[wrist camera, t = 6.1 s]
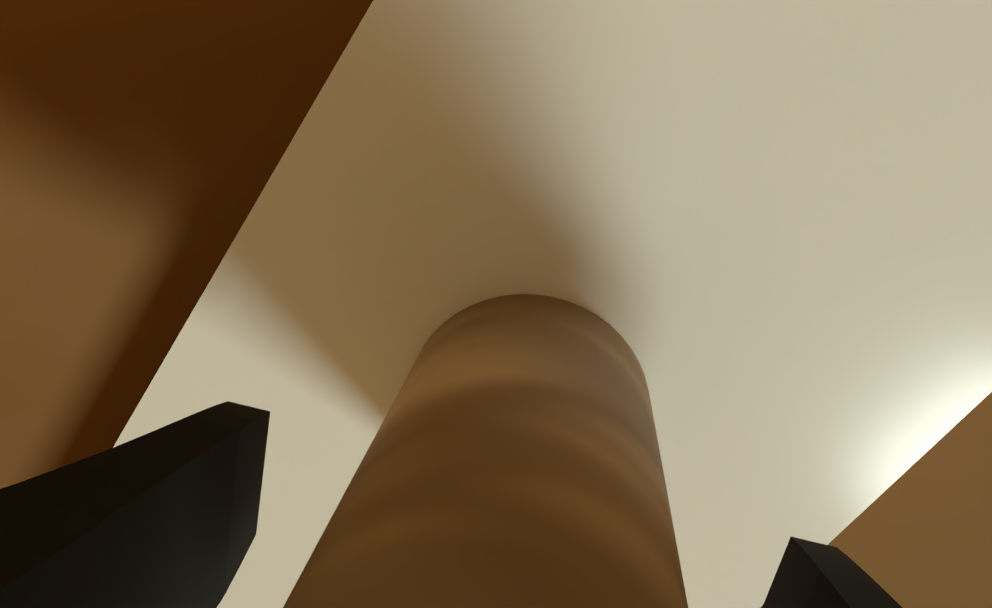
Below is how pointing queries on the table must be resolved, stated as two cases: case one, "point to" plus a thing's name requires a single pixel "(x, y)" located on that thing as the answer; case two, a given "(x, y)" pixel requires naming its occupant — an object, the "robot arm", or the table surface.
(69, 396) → the table surface
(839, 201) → the ceramic tile
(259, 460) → the robot arm
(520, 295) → the oak cylinder
